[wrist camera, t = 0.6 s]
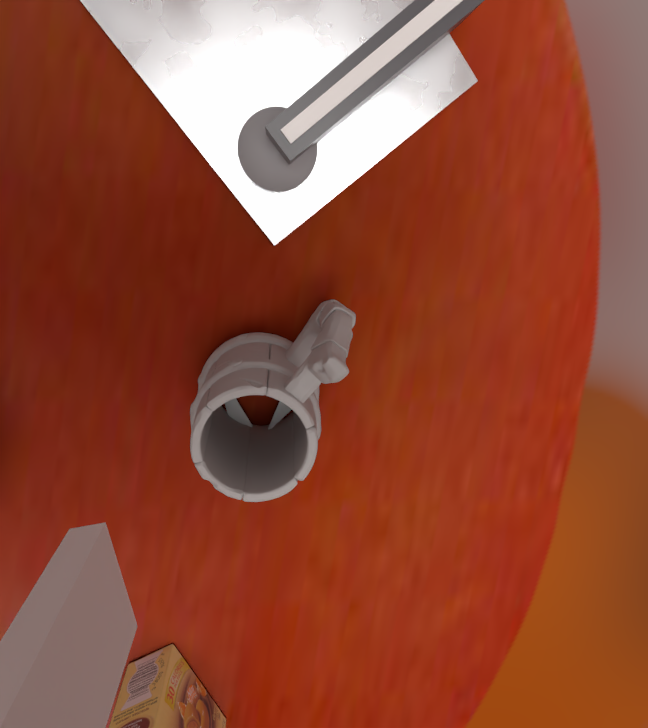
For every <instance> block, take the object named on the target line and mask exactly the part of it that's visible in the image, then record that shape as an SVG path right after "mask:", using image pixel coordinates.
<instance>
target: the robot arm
mask: <svg viewBox="0 0 648 728" xmlns="http://www.w3.org/2000/svg"><path fill="white" fill-rule="evenodd" d="M136 629H137V623H136V620H135V616H134V613H133V610H132V607H131V603H130V600H129V597H128V594H127V590H126V587H125V584H124V581H123V577H122V574H121V571H120V568H119V564H118V561H117V558H116V555H115V552H114V548H113V545H112V542H111V539H110V535H109V532H108V529H107V526H106V522H105V523H100V524H94V525H89V526H83V527H77V528H72V529H69V531H68V532H67V534H66V535H65V537H64V539H63V540H62V542H61V544H60V545H59V547H58V548H57V550H56V552H55V553H54V555H53V557H52V558H51V560H50V562H49V563H48V565H47V566H46V568H45V570H44V571H43V573H42V575H41V576H40V578H39V579H38V581H37V583H36V584H35V586H34V588H33V589H32V591H31V592H30V594H29V596H28V597H27V599H26V601H25V602H24V604H23V606H22V607H21V609H20V610H19V612H18V614H17V615H16V617H15V619H14V620H13V622H12V623H11V625H10V627H9V628H8V630H7V632H6V633H5V635H4V637H3V638H2V640H1V641H0V728H105V727H106V724H107V721H108V718H109V715H110V712H111V708H112V705H113V702H114V699H115V696H116V692H117V689H118V686H119V683H120V680H121V677H122V673H123V670H124V667H125V664H126V661H127V658H128V654H129V651H130V648H131V645H132V642H133V639H134V635H135V632H136Z"/></svg>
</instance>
